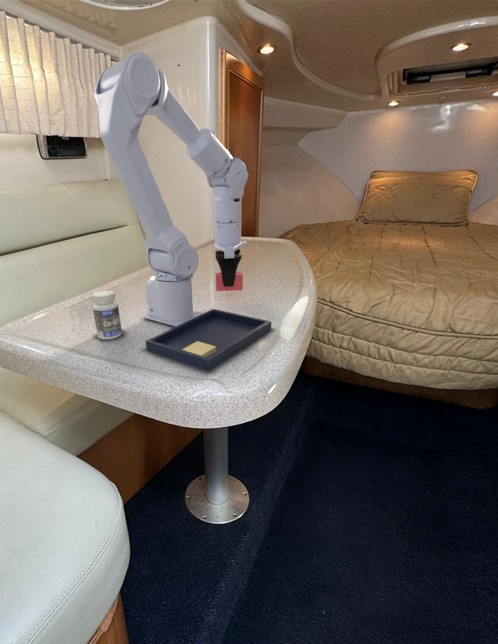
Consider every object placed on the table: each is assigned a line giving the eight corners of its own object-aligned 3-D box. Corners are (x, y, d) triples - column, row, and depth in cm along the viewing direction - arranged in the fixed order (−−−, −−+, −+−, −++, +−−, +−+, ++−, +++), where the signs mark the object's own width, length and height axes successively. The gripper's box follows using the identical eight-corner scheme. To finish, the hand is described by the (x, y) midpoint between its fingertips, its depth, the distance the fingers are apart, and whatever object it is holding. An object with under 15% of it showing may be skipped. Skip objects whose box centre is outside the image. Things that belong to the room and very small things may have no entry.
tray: (146, 350, 64) (145, 340, 63) (213, 316, 77) (213, 308, 76) (208, 371, 55) (207, 361, 55) (271, 330, 68) (271, 321, 68)
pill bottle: (107, 342, 68) (99, 299, 64) (93, 336, 71) (85, 294, 68) (127, 333, 71) (121, 292, 67) (112, 328, 74) (106, 288, 71)
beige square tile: (182, 354, 60) (182, 349, 59) (197, 346, 62) (197, 340, 62) (201, 361, 57) (201, 355, 57) (216, 351, 60) (216, 346, 60)
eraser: (216, 291, 83) (215, 276, 81) (216, 287, 86) (215, 272, 84) (242, 290, 82) (242, 274, 81) (241, 286, 85) (241, 271, 84)
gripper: (249, 224, 71) (248, 292, 77) (243, 216, 84) (243, 275, 90) (213, 226, 71) (215, 293, 77) (213, 218, 84) (214, 276, 90)
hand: (228, 283), depth 84 cm, fingers closed on eraser, 3 cm apart
